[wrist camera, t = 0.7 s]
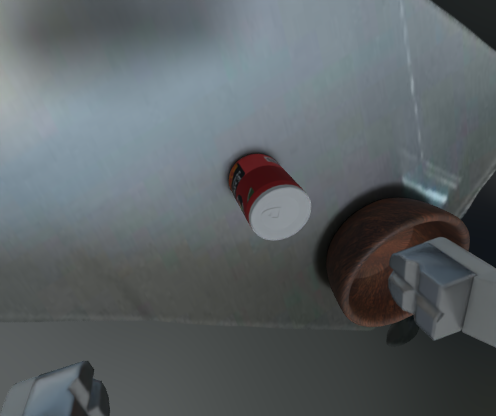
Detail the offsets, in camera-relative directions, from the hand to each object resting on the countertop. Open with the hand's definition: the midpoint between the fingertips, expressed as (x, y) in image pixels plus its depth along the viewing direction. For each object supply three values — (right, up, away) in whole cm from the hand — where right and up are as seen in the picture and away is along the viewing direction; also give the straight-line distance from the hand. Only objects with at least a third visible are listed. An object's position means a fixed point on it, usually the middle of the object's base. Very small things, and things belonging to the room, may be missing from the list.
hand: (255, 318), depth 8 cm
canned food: (+1, +8, +39) cm, 40 cm away
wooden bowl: (+24, -4, +55) cm, 60 cm away
